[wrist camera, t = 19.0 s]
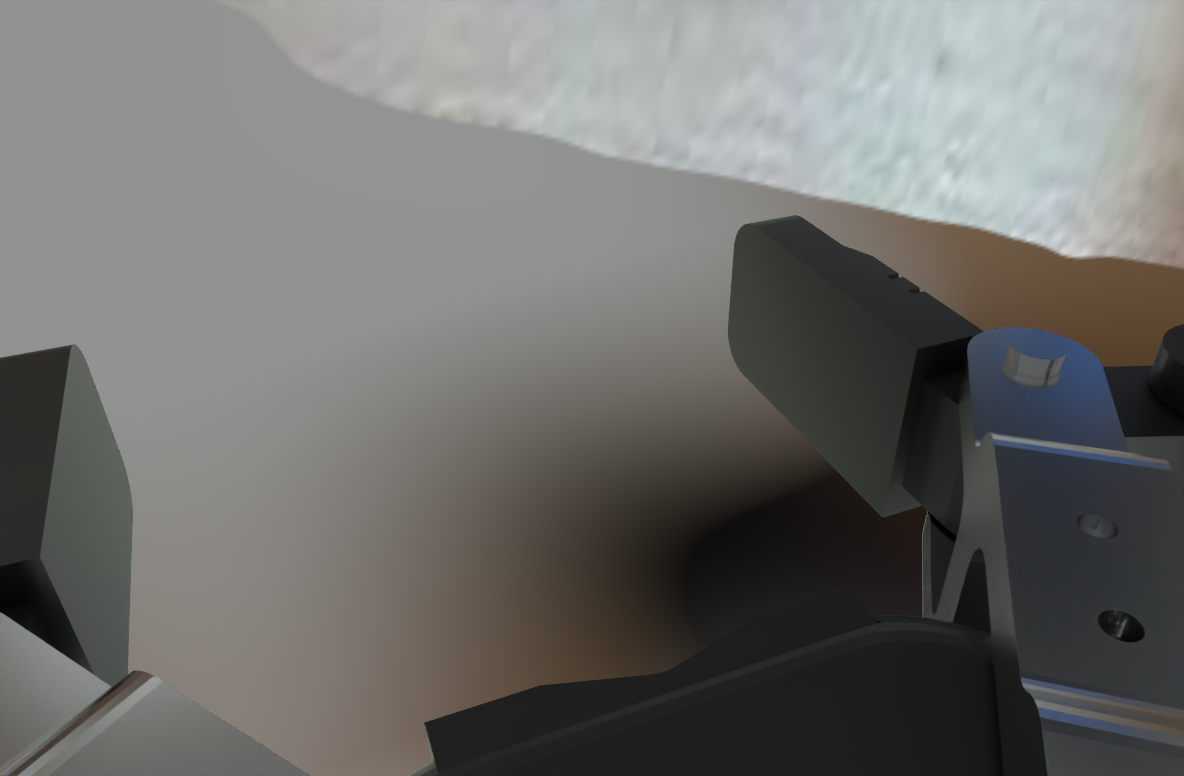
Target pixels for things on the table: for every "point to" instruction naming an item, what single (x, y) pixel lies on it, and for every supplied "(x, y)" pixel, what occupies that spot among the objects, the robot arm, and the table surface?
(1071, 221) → the table surface
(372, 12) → the table surface
